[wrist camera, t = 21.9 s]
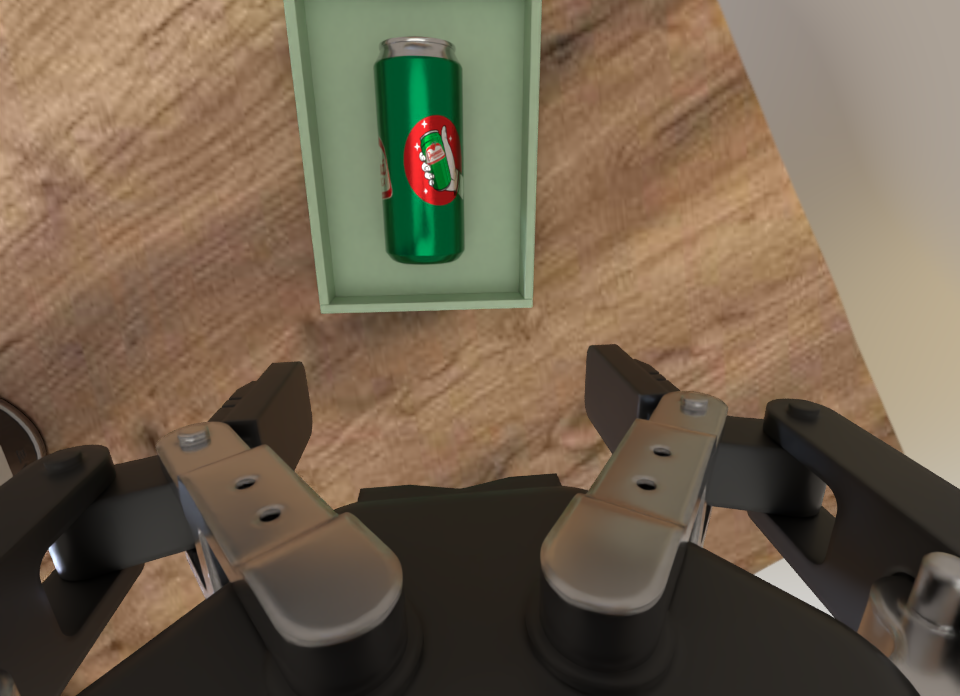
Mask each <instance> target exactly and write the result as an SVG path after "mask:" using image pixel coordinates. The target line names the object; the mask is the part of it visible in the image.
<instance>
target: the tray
mask: <svg viewBox="0 0 960 696" xmlns="http://www.w3.org/2000/svg"><path fill="white" fill-rule="evenodd" d="M283 1H284V9H285V17H286V26H287V34H288V43H289V51H290V59H291V68H292V76H293V84H294V93H295V101H296V109H297V118H298V126H299V134H300V143H301V151H302V160H303V168H304V176H305V185H306V193H307V201H308V210H309V218H310V226H311V235H312V243H313V251H314V260H315V268H316V276H317V285H318V293H319V302H320V309H321V313H322V314H326V313H361V312H395V311H429V310H464V309H498V308H532V307H533V278H534V245H535V212H536V179H537V146H538V113H539V79H540V46H541V13H542V0H283ZM404 36H423V37H432V38H438V39H442V40H446V41H448V42H451V43H452V44H454V45H455V47H456V51H455V55H456V57H457V59H458V61H459V63H460V64H461V66H462V68H463V141H464V217H465V250H464V252H463V253H462V255H461V256H460V257H459V259H457V260H456V261H453V262H449V263H443V264H431V265H413V264H403V263H398V262H395V261H393V260H392V259H391V258H390V256H389V255H388V254H387V253H386V251H385V236H384V221H383V206H382V191H381V176H380V161H379V146H378V131H377V116H376V101H375V86H374V71H373V66H374V63H375V62H376V60H377V58H378V55H379V53H380V51H379V44H380V42H382V41H384V40H387V39H390V38H395V37H404Z"/></svg>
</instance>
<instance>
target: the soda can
mask: <svg viewBox="0 0 960 696" xmlns="http://www.w3.org/2000/svg"><path fill="white" fill-rule="evenodd" d="M379 51H380V53H379V55H378V58H377V60H376V62H375V63H374V66H373V71H374V86H375V101H376V116H377V131H378V146H379V161H380V176H381V191H382V206H383V221H384V236H385V251H386V253H387V254H388V255H389V256H390V258H391V259H392V260H393V261H395V262H398V263H403V264H413V265H431V264H443V263H449V262H453V261H456V260H457V259H459V257H460V256H461V255H462V253H463V252H464V250H465V217H464V141H463V68H462V66H461V64H460V63H459V61H458V59H457V57H456V55H455V51H456V47H455V45H454V44H452V43H451V42H448V41H446V40H442V39H438V38H432V37H423V36H404V37H395V38H390V39H387V40H384V41H382V42H380V44H379Z"/></svg>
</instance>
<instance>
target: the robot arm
mask: <svg viewBox="0 0 960 696" xmlns="http://www.w3.org/2000/svg"><path fill="white" fill-rule="evenodd" d="M585 408H586V412H587V415H588V418H589V419H590V421H591V422H592V424H593V425H594V427H595V428H596V430H597V431H598V433H599V434H600V436H601V438H602V439H603V441H604V442H605V444H606V445H607V447H608V448H609V450H610V451H611V453H612V456H611V457H610V459H609V460H608V462H607V463H606V465H605V466H604V468H603V470H602V471H601V473H600V474H599V476H598V477H597V479H596V480H595V482H594V483H593V485H592V486H591V488H590V489H589V491H588V490H584V489H580V488H574V487H568V486H562V485H561V483H560V481H559V478H558V476H557V474H543V475H530V476H517V477H508V478H504V479H500V480H496V481H491V482H487V483H483V484H479V485H475V486H471V487H467V488H461V489H455V488H442V487H430V486H418V485H402V486H389V487H376V488H363V489H360V493H359V497H358V502H356V503H352V504H349V505H346V506H343V507H340V508H337V509H335V510H333V509H332V508H331V507H330V506H329V505H328V504H327V503H326V502H325V501H324V500H323V499H322V498H321V497H320V496H319V495H318V494H317V493H316V492H315V491H314V490H313V489H312V488H311V487H310V486H309V485H308V484H307V483H306V482H305V481H303V480H302V479H301V478H300V477H299V476H298V475H297V474H296V473H295V472H294V470H295V468H296V466H297V464H298V462H299V460H300V458H301V455H302V453H303V451H304V449H305V447H306V445H307V443H308V441H309V438H310V436H311V432H312V412H311V405H310V399H309V392H308V386H307V380H306V373H305V369H304V366H303V364H302V362H300V361H299V362H281V363H272V364H271V365H270V366H269V367H268V368H267V370H266V371H265V372H264V373H263V374H262V375H261V376H260V378H259V379H258V380H257V381H252V382H250V383H248V384H246V385H245V386H243V387H241V388H239V389H237V390H236V391H235V393H234V394H233V395H232V396H231V397H230V398H229V400H227V401H226V402H225V403H224V404H223V406H222V408H220V409H219V410H218V411H217V412H216V413H215V414H214V415H213V416H212V417H211V419H210V420H209V421H208V422H202V423H196V424H192V425H188V426H185V427H182V428H179V429H177V430H174V431H172V432H170V433H168V434H167V435H165V436H164V437H162V438H161V439H160V440H159V441H158V442H157V444H156V447H155V448H156V451H157V455H156V456H152V457H148V458H143V459H139V460H134V461H129V462H125V463H120V464H116V465H114V464H113V461H112V458H111V455H110V452H109V449H108V448H107V447H105V446H102V445H83V446H77V447H72V448H67V449H63V450H59V451H56V452H54V453H52V454H49V455H47V456H46V450H45V445H44V442H43V440H42V438H41V435H40V434H39V432H38V430H37V429H36V427H35V426H34V425H33V424H32V422H31V421H30V420H29V419H28V418H27V417H26V416H25V415H24V414H23V413H22V412H20V411H19V410H18V409H17V408H15V407H14V406H12V405H11V404H9V403H7V402H6V401H4V400H2V399H0V696H60V695H61V693H62V692H63V690H64V688H65V687H66V685H67V684H68V682H69V681H70V679H71V678H72V676H73V675H74V673H75V672H76V670H77V669H78V667H79V666H80V664H81V663H82V661H83V660H84V658H85V657H86V655H87V654H88V652H89V651H90V649H91V648H92V646H93V645H94V643H95V641H96V640H97V638H98V637H99V635H100V634H101V632H102V631H103V629H104V628H105V626H106V625H107V623H108V622H109V620H110V619H111V617H112V616H113V614H114V613H115V611H116V610H117V608H118V607H119V605H120V604H121V602H122V601H123V599H124V598H125V596H126V594H127V593H128V591H129V590H130V588H131V587H132V585H133V584H134V582H135V581H136V579H137V578H138V576H139V575H140V573H141V572H142V570H143V568H144V563H145V562H149V561H152V560H156V559H159V558H162V557H166V556H169V555H173V554H176V553H180V552H183V551H185V554H186V558H187V561H188V563H189V565H190V567H191V569H192V571H193V573H194V575H195V577H196V579H197V582H198V584H199V586H200V588H201V590H202V592H203V594H204V596H205V598H206V599H205V600H204V601H203V602H201V603H200V604H199V605H197V606H196V607H195V608H193V609H192V610H191V611H189V612H188V613H187V614H185V615H184V616H183V617H181V618H180V619H179V620H177V621H176V622H174V623H173V624H172V625H170V626H169V627H168V628H166V629H165V630H164V631H162V632H161V633H160V634H158V635H157V636H156V637H154V638H153V639H152V640H150V641H149V642H148V643H146V644H145V645H143V646H142V647H141V648H139V649H138V650H137V651H135V652H134V653H133V654H131V655H130V656H129V657H127V658H126V659H125V660H123V661H122V662H121V663H119V664H118V665H117V666H115V667H114V668H113V669H111V670H110V671H108V672H107V673H106V674H104V675H103V676H102V677H100V678H99V679H98V680H96V681H95V682H94V683H92V684H91V685H90V686H88V687H87V688H86V689H84V690H83V691H82V692H80V693H79V694H77V695H76V696H960V489H958V488H957V487H955V486H954V485H952V484H950V483H949V482H947V481H946V480H944V479H942V478H941V477H939V476H937V475H936V474H934V473H933V472H931V471H929V470H928V469H926V468H925V467H923V466H921V465H920V464H918V463H917V462H915V461H913V460H912V459H910V458H909V457H907V456H906V455H904V454H902V453H901V452H899V451H898V450H896V449H894V448H893V447H891V446H890V445H888V444H886V443H885V442H883V441H882V440H880V439H878V438H877V437H875V436H874V435H872V434H870V433H869V432H867V431H866V430H864V429H862V428H861V427H859V426H858V425H856V424H854V423H853V422H851V421H850V420H848V419H846V418H845V417H843V416H842V415H840V414H838V413H837V412H835V411H833V410H832V409H830V408H827V407H825V406H822V405H820V404H817V403H813V402H811V401H807V400H800V399H776V400H772V401H770V402H768V404H767V406H766V411H765V417H764V419H755V418H743V417H733V416H727V411H728V407H727V405H726V404H725V403H724V402H723V401H721V400H720V399H718V398H716V397H714V396H711V395H708V394H704V393H700V392H694V391H680V390H679V389H678V388H676V387H675V386H674V385H673V384H672V383H671V382H669V381H668V380H666V378H665V377H663V376H662V375H661V374H659V372H658V371H656V370H655V369H654V368H653V367H652V366H650V365H649V364H646V363H644V362H641V361H639V360H636V359H632V358H631V357H630V356H629V355H628V354H627V353H626V352H624V351H623V350H622V349H621V348H620V347H619V346H618V345H616V344H609V345H591V346H589V348H588V351H587V360H586V379H585ZM826 485H828V486H829V487H830V489H831V490H832V492H833V493H834V495H835V498H836V501H837V515H836V518H835V517H834V516H832V515H831V514H830V513H829V512H828V511H827V510H826V509H825V508H824V507H823V506H821V505H822V501H823V497H824V493H825V489H826ZM712 506H715V507H723V508H731V509H738V510H746V511H747V513H748V515H749V517H750V518H751V520H752V521H753V522H754V523H755V524H756V526H757V527H758V528H759V529H760V530H761V531H762V533H763V534H764V535H765V536H766V537H767V539H768V540H769V541H770V542H771V543H772V544H773V546H774V547H775V548H776V549H777V550H778V552H779V553H780V554H781V555H782V556H783V557H784V559H785V560H786V561H787V562H788V563H789V564H790V566H791V567H792V568H793V569H794V570H795V571H796V573H797V574H798V575H799V576H800V577H801V579H802V580H803V581H804V582H805V583H806V584H807V586H808V587H809V588H810V589H811V590H812V592H813V593H814V594H815V595H816V596H817V597H818V598H819V600H820V601H821V602H822V603H823V605H824V606H825V607H826V608H827V609H828V610H829V612H830V613H831V614H832V615H833V616H834V618H833V617H832V616H830V615H828V614H826V613H824V612H823V611H821V610H819V609H817V608H815V607H813V606H811V605H809V604H808V603H806V602H804V601H802V600H800V599H798V598H796V597H794V596H792V595H791V594H789V593H787V592H785V591H783V590H781V589H779V588H778V587H776V586H774V585H772V584H770V583H768V582H766V581H764V580H762V579H761V578H759V577H757V576H755V575H753V574H751V573H749V572H747V571H746V570H744V569H742V568H740V567H738V566H736V565H734V564H732V563H730V562H729V561H727V560H725V559H723V558H721V557H719V556H717V555H715V554H714V553H712V552H710V551H708V550H706V549H704V548H703V544H704V540H705V536H706V532H707V528H708V524H709V520H710V517H711V512H712ZM47 550H49V552H50V555H51V557H52V560H53V562H54V565H55V567H56V569H55V570H54V571H53V572H52V573H51V574H50V575H49V576H48V578H47V579H46V580H45V581H44V582H43V583H42V584H41V581H40V565H41V562H42V559H43V557H44V555H45V553H46V552H47Z"/></svg>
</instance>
